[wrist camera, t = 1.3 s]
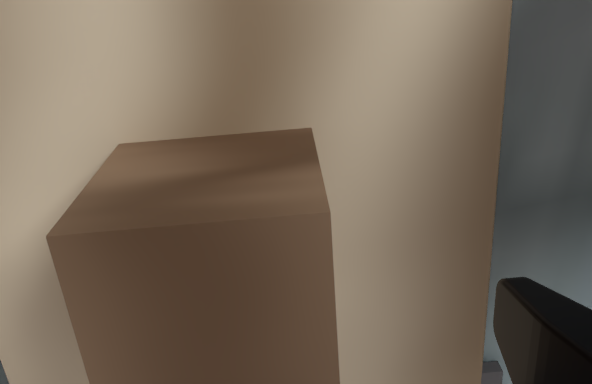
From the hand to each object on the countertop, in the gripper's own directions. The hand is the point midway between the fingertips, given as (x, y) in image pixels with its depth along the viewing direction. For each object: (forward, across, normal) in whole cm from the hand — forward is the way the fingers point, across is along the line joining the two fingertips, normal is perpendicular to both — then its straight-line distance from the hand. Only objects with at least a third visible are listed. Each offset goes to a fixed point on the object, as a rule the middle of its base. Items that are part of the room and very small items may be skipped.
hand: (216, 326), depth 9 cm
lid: (+4, 0, 0) cm, 4 cm away
